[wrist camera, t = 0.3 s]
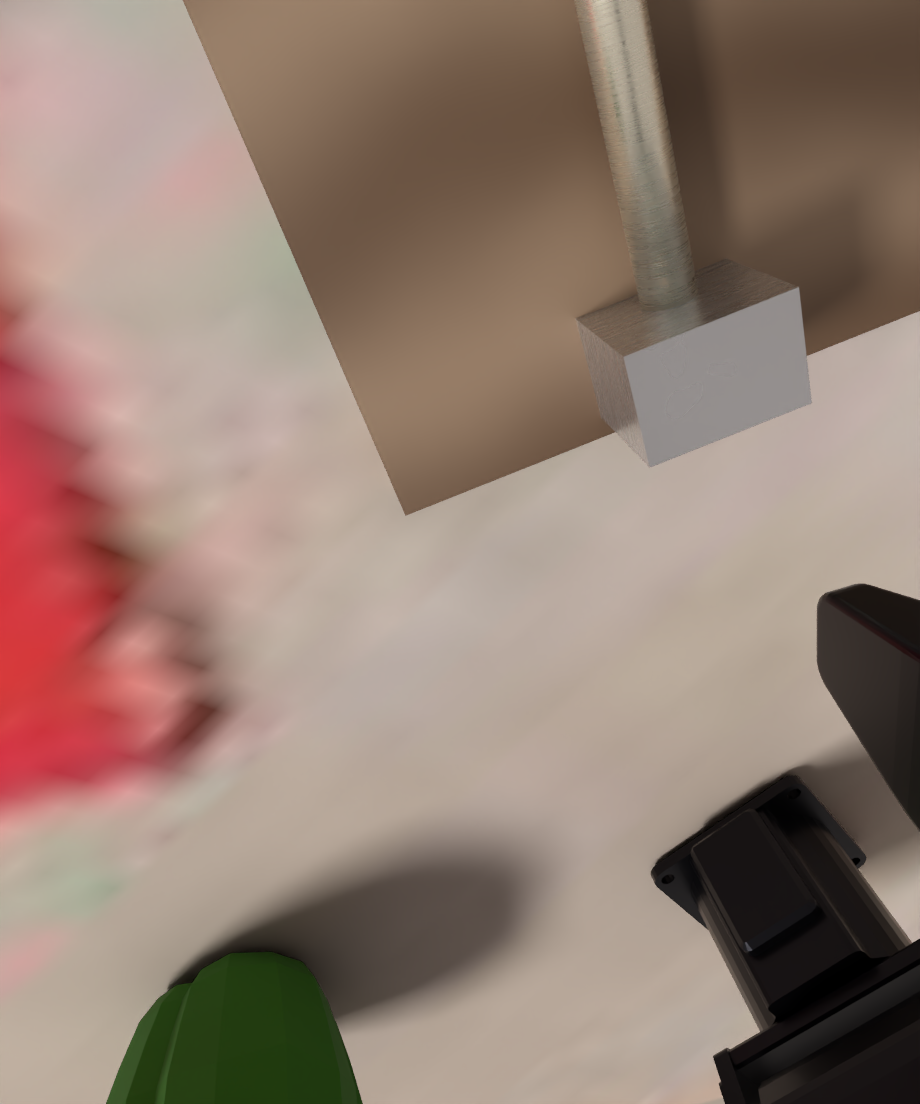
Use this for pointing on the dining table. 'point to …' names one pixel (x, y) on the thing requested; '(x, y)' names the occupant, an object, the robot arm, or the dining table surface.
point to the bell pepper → (239, 1040)
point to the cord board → (557, 192)
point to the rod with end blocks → (675, 279)
